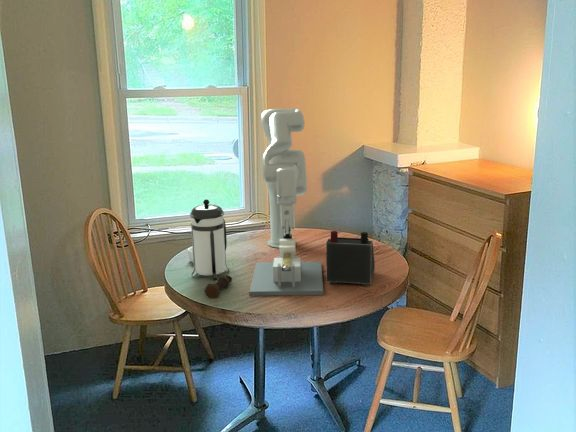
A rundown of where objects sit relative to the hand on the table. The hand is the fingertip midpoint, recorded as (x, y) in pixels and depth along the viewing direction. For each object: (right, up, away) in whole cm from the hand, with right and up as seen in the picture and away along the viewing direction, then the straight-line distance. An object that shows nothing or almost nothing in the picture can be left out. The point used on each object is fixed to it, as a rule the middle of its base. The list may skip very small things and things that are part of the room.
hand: (287, 244), depth 230 cm
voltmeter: (+24, -12, -9) cm, 29 cm away
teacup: (-37, -7, +15) cm, 41 cm away
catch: (0, -9, -3) cm, 10 cm away
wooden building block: (0, -11, -16) cm, 19 cm away
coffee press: (-30, -11, -1) cm, 32 cm away
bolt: (-24, -16, -18) cm, 34 cm away
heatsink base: (0, -13, -9) cm, 16 cm away
